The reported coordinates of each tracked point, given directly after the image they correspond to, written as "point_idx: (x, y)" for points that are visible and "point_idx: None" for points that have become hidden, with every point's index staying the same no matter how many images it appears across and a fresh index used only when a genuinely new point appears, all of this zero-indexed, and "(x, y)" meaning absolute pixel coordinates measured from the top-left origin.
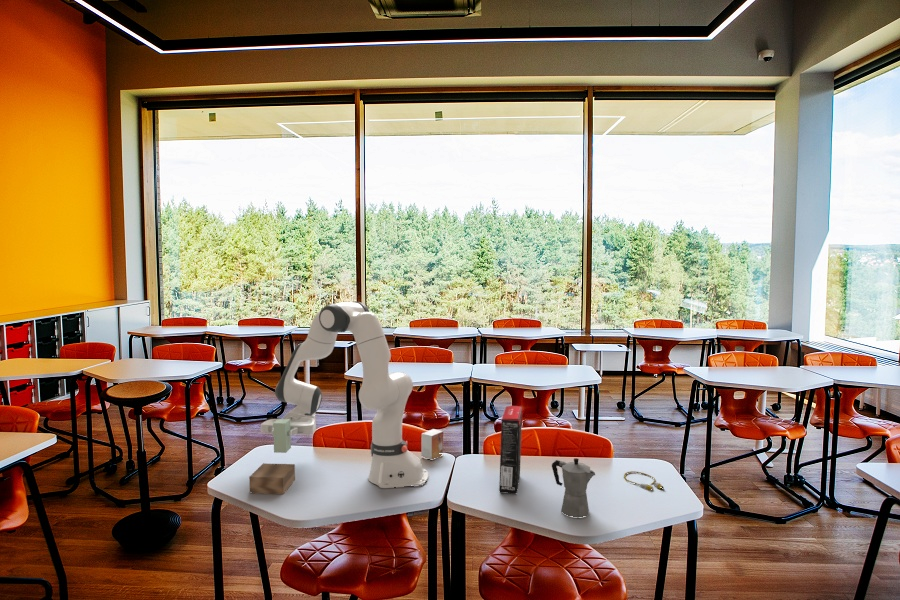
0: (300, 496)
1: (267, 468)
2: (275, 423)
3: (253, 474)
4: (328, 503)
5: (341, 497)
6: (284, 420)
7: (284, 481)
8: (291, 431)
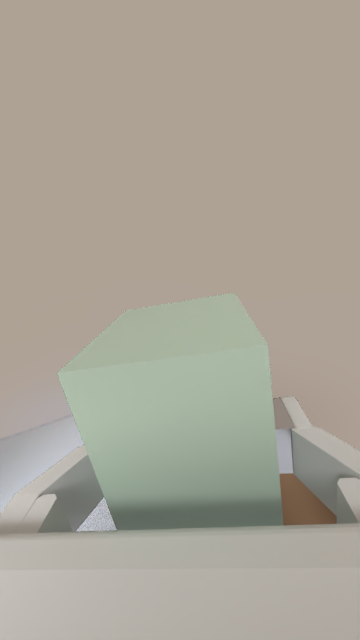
0: None
1: (288, 524)
2: (213, 298)
3: None
4: (63, 455)
5: (18, 489)
6: (142, 335)
7: None
8: None
